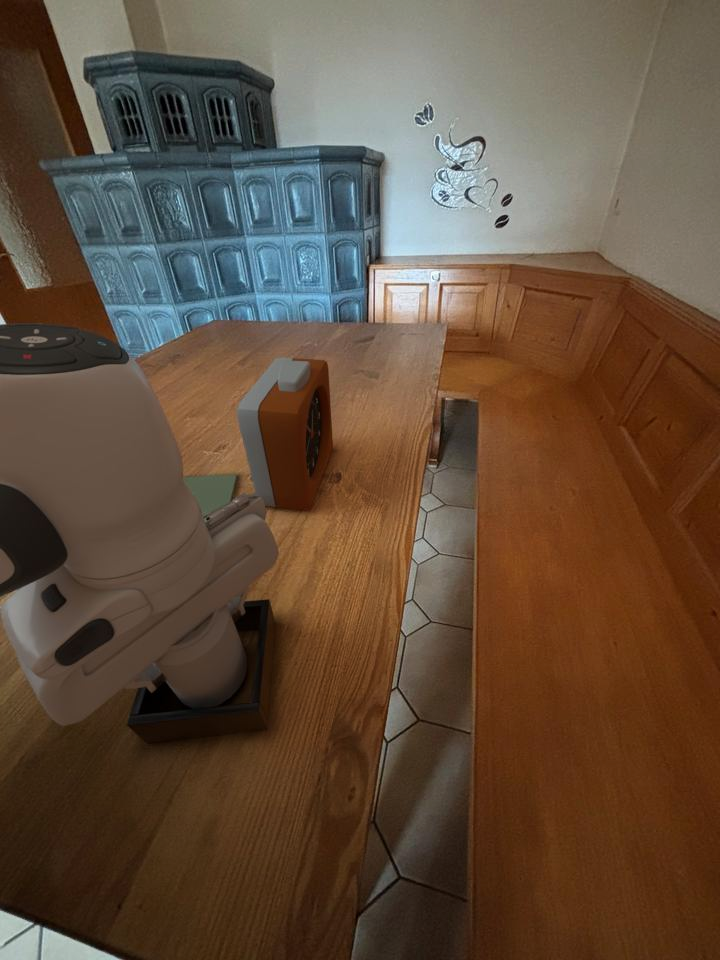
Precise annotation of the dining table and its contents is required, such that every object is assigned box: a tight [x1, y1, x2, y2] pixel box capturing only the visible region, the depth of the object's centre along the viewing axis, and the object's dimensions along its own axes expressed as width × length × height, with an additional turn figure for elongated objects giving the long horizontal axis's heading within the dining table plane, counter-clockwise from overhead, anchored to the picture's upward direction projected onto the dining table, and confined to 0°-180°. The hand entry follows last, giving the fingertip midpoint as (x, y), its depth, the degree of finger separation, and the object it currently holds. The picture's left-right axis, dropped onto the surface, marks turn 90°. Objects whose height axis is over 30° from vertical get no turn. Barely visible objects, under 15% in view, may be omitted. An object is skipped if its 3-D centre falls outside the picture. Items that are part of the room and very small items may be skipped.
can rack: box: [126, 598, 277, 744], centre depth 40 cm, size 12×12×5 cm
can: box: [153, 605, 249, 709], centre depth 38 cm, size 8×8×12 cm
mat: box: [183, 473, 238, 517], centre depth 61 cm, size 16×16×1 cm
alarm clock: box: [236, 356, 334, 511], centre depth 62 cm, size 18×9×21 cm, turn 171°
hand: (197, 645), depth 37 cm, fingers closed on can, 7 cm apart
